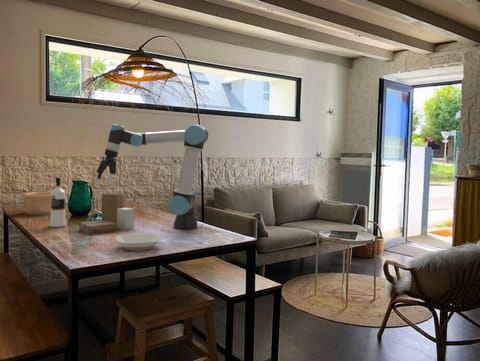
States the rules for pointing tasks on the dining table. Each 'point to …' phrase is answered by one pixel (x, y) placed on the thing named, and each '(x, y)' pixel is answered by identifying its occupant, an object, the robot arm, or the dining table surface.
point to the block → (111, 206)
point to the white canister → (125, 218)
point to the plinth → (97, 227)
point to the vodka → (58, 206)
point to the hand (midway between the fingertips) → (103, 184)
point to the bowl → (138, 241)
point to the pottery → (38, 203)
